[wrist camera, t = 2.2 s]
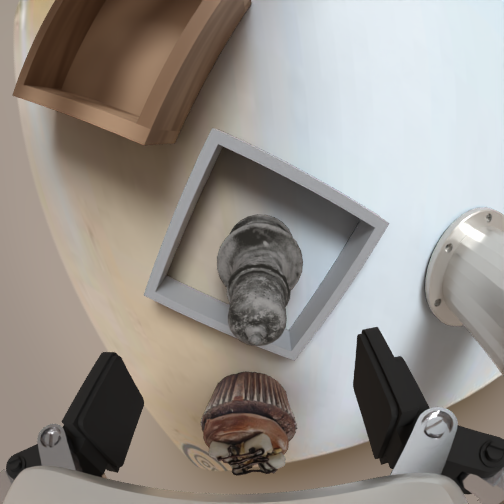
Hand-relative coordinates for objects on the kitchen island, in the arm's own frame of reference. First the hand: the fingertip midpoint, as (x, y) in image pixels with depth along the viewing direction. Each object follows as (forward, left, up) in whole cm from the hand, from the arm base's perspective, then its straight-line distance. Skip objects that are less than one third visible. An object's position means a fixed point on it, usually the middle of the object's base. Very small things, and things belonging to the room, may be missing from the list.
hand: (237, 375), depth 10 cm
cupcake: (-8, +16, -14) cm, 23 cm away
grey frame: (-1, 0, -14) cm, 14 cm away
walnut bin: (+15, -11, -14) cm, 24 cm away
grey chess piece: (-1, 0, -14) cm, 14 cm away
